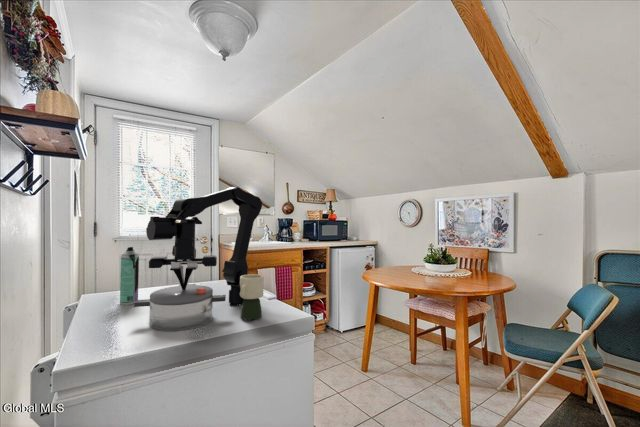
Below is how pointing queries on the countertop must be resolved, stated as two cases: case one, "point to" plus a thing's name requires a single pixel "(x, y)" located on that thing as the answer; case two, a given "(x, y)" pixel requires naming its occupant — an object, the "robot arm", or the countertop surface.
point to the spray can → (129, 277)
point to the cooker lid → (181, 295)
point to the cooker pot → (180, 314)
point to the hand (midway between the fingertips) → (184, 289)
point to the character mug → (251, 295)
